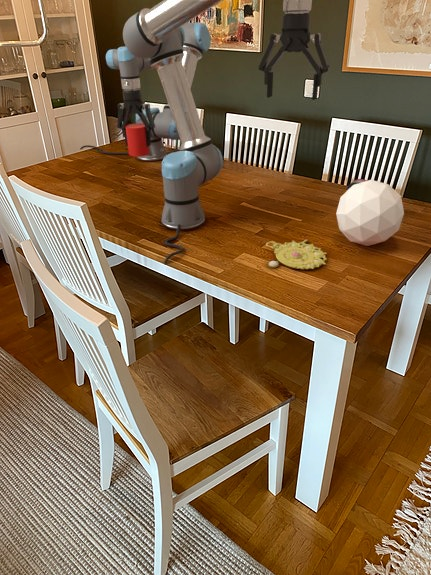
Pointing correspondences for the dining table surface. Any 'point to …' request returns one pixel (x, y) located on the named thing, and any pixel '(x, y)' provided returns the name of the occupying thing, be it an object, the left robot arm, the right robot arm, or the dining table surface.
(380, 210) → the sphere
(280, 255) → the decorative object
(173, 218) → the right robot arm
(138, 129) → the canister
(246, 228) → the dining table surface
